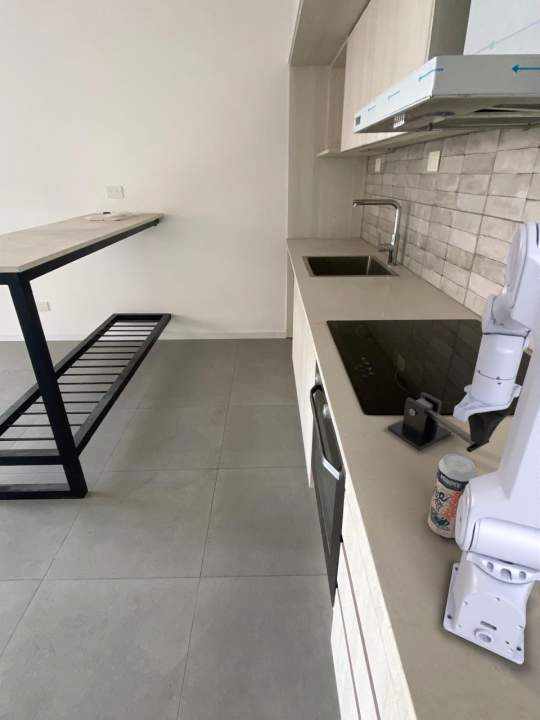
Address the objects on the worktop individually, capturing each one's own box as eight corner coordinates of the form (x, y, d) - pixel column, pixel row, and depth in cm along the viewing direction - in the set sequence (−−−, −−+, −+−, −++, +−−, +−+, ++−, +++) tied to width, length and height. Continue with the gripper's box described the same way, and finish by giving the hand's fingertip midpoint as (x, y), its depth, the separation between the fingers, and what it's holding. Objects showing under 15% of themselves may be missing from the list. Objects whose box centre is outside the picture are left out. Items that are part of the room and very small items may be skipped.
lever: (487, 446, 69) (491, 436, 68) (469, 456, 67) (473, 446, 66) (424, 405, 79) (427, 395, 78) (407, 412, 77) (409, 402, 76)
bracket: (450, 436, 78) (457, 402, 75) (418, 451, 74) (424, 416, 71) (418, 417, 84) (423, 385, 81) (387, 430, 80) (391, 397, 77)
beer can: (420, 520, 60) (431, 457, 55) (444, 510, 61) (457, 448, 56) (444, 545, 56) (459, 479, 50) (469, 533, 57) (486, 468, 52)
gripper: (499, 352, 68) (483, 417, 74) (442, 373, 62) (430, 443, 68) (541, 367, 62) (520, 437, 68) (484, 392, 56) (467, 467, 62)
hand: (478, 441), depth 68 cm, fingers closed, pressing on lever
